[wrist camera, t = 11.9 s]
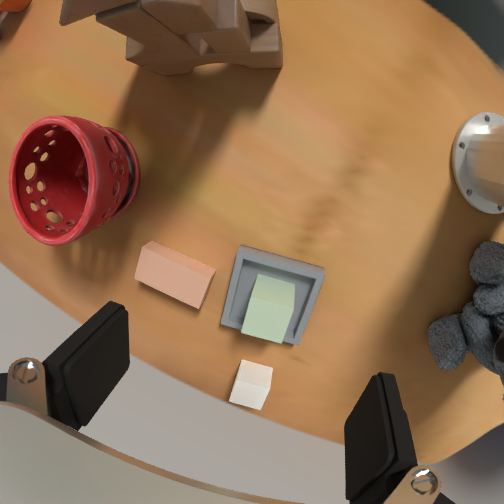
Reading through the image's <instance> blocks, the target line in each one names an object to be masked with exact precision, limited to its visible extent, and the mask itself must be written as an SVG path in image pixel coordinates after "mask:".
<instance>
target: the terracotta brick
mask: <svg viewBox="0 0 504 504" xmlns="http://www.w3.org/2000/svg"><path fill="white" fill-rule="evenodd" d="M215 272H216V269H214V268H211V267H209V266H207V265H205V264H202V263H200V262H198V261H196V260H194V259H191V258H189V257H187V256H185V255H183V254H180V253H178V252H176V251H174V250H172V249H170V248H167V247H165V246H163V245H161V244H159V243H157V242H154V241H152V240H151V241H150V242H148V243H147V244H145V245H144V246H143V247H142V249H141V253H140V256H139V260H138V264H137V268H136V272H135V276H134V278H135V279H137V280H139V281H141V282H143V283H145V284H147V285H149V286H151V287H153V288H155V289H157V290H159V291H161V292H163V293H165V294H167V295H169V296H171V297H174V298H176V299H178V300H180V301H182V302H184V303H186V304H189V305H191V306H193V307H195V308H197V309H199V308H200V306H201V305H202V303H203V301H204V300H205V297H206V295H207V292H208V290H209V287H210V285H211V282H212V279H213V277H214V274H215Z"/></svg>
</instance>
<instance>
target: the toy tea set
mask: <svg viewBox="0 0 504 504" xmlns="http://www.w3.org/2000/svg"><path fill="white" fill-rule="evenodd" d="M31 1H32V0H0V11H6V12H20V11H22V10H24V9H25V8H26V7H27V6H28V5H29V3H30V2H31Z"/></svg>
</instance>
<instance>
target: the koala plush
mask: <svg viewBox="0 0 504 504" xmlns="http://www.w3.org/2000/svg"><path fill="white" fill-rule="evenodd" d="M469 270H470V275H471V277H472V278H473V280H474V282H476V284H478V289H476V292H475V293H474V295H473V299H474V301H475V302H474V301H472V302H468V303H467V304H466V305H465V307H464V308H463V313H462V314H461V313H459V314H453V315H450V316H446V317H443V318H440V319H438V320H437V321H435V322H433V323H432V324H431V325H430V327H429V328H428V331H427V335H428V338H427V339H428V343H429V344H428V345H429V347H430V350H431V353H432V355H433V357H434V359H435V361H436V362H437V363H438V365H439V367H440V368H441V369H442V370H443V371H446V370H448V369H450V368H451V369H452V370H453V369H454V368H455V369H456V368H457V366H459V365H460V363H462V362H463V359H464V357H465V354H466V353H468V352H472V354H473V355H474V356H475V357H476V359H477V360H478V361H479V362H480V363H481V364H483V366H484V367H486V368H487V369H489V370H490V371H492V372H493V373H496V374H497V375H498V374H499V375H500V379H501V381H502V383H503V385H504V244H499V242H495V241H490V242H483V243H482V244H480V245H479V247H477V248H476V250H475V252H474V255H473V256H472V259H471V260H470V264H469ZM503 396H504V395H503ZM502 399H503V400H504V397H503V398H502Z"/></svg>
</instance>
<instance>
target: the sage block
mask: <svg viewBox="0 0 504 504" xmlns="http://www.w3.org/2000/svg"><path fill="white" fill-rule="evenodd" d="M294 296H295V284H293V283H289V282H285V281H282V280H278V279H274V278H271V277H267V276H264V275H260V274H258V275H257V279H256V282H255V285H254V288H253V291H252V295H251V298H250V301H249V305H248V309H247V312H246V316H245V320H244V323H243V327H242V330H241V333H244V334H247V335H251V336H255V337H258V338H262V339H266V340H270V341H273V342H277V343H281V344H282V341H283V338H284V335H285V333H286V330H287V327H288V324H289V322H290V319H291V316H292V313H293V310H294Z"/></svg>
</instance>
